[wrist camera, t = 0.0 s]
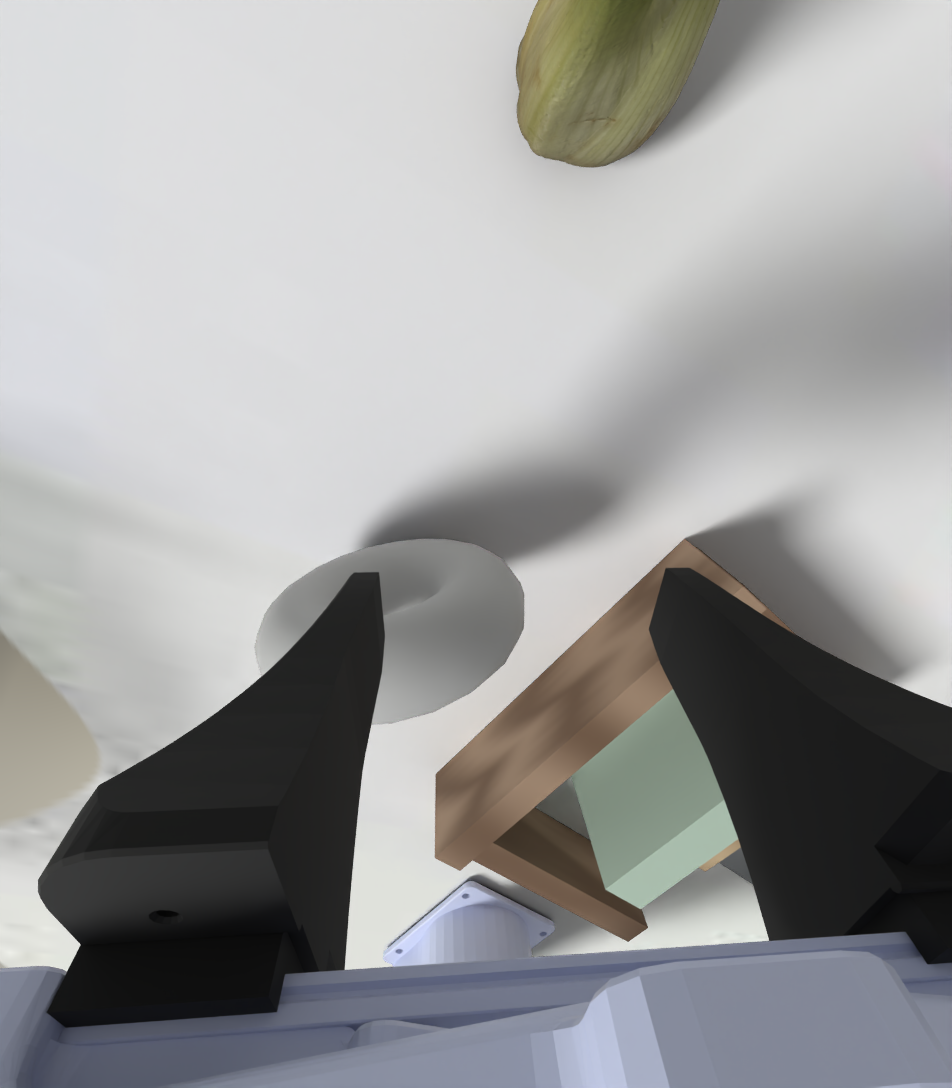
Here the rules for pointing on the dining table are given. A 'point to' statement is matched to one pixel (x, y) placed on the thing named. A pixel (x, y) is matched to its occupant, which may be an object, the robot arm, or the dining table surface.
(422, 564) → the donut
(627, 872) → the board
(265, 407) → the dining table surface
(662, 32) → the fennel bulb
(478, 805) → the frame
